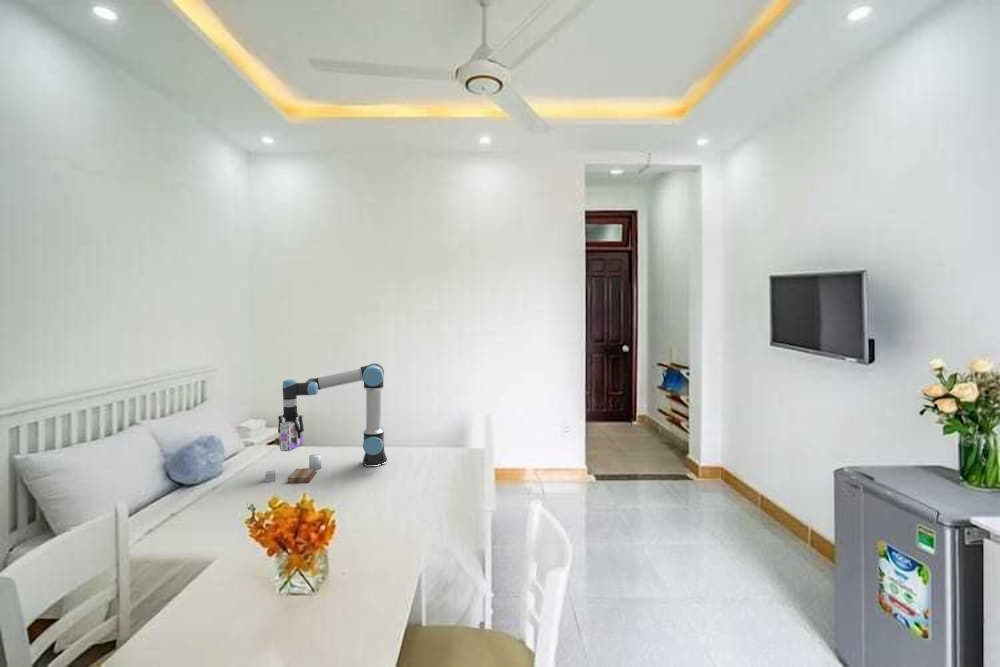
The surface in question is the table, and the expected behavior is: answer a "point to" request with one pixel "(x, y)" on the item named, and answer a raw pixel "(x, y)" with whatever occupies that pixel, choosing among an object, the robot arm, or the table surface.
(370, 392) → the robot arm
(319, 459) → the light grey rounded block
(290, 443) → the candy box
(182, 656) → the table surface
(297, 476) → the brown wooden board
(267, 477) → the grey box
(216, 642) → the table surface
